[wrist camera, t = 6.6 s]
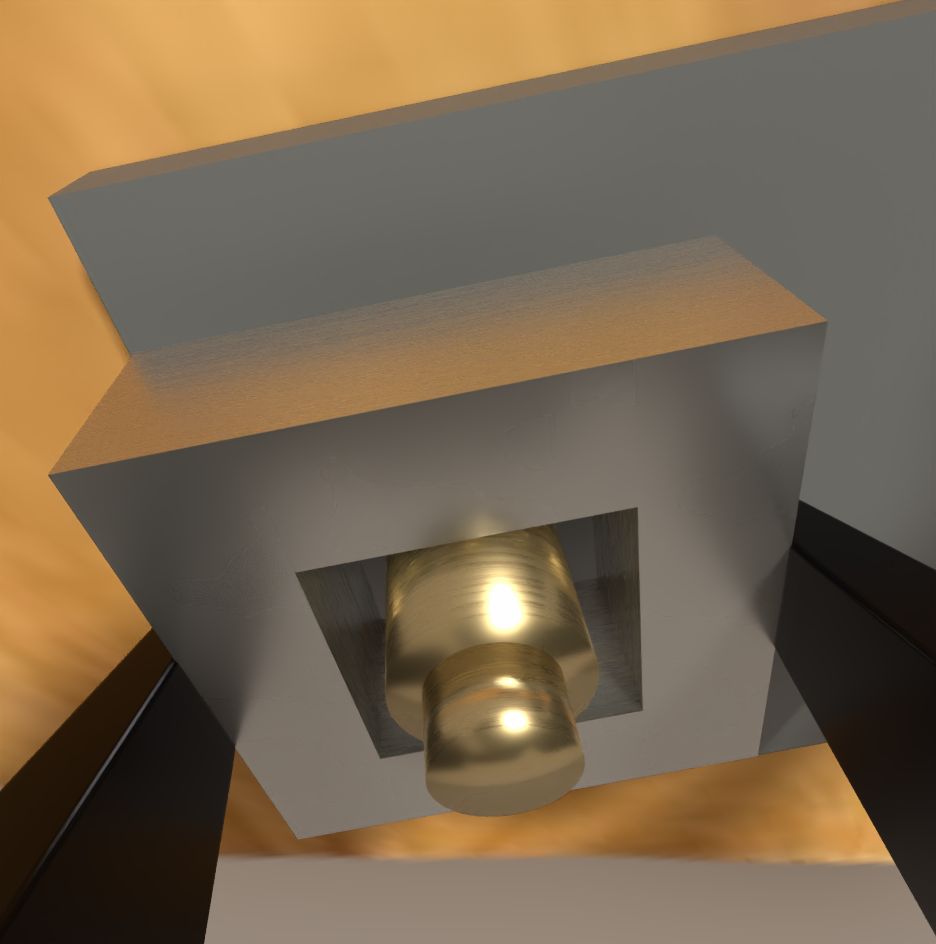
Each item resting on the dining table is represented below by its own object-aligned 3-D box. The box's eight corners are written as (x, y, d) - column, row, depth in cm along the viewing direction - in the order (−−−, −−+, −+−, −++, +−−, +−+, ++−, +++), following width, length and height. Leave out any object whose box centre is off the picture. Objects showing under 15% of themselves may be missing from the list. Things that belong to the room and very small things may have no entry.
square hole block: (715, 235, 8) (828, 320, 6) (695, 626, 12) (757, 756, 10) (133, 352, 8) (47, 474, 6) (313, 698, 12) (297, 839, 10)
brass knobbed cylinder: (516, 369, 11) (620, 678, 6) (533, 485, 12) (628, 811, 7) (371, 397, 11) (354, 729, 6) (405, 510, 12) (414, 850, 7)
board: (1251, -73, 9) (1377, -82, 8) (947, 668, 19) (984, 713, 18) (89, 172, 10) (48, 196, 9) (377, 774, 20) (376, 825, 19)
